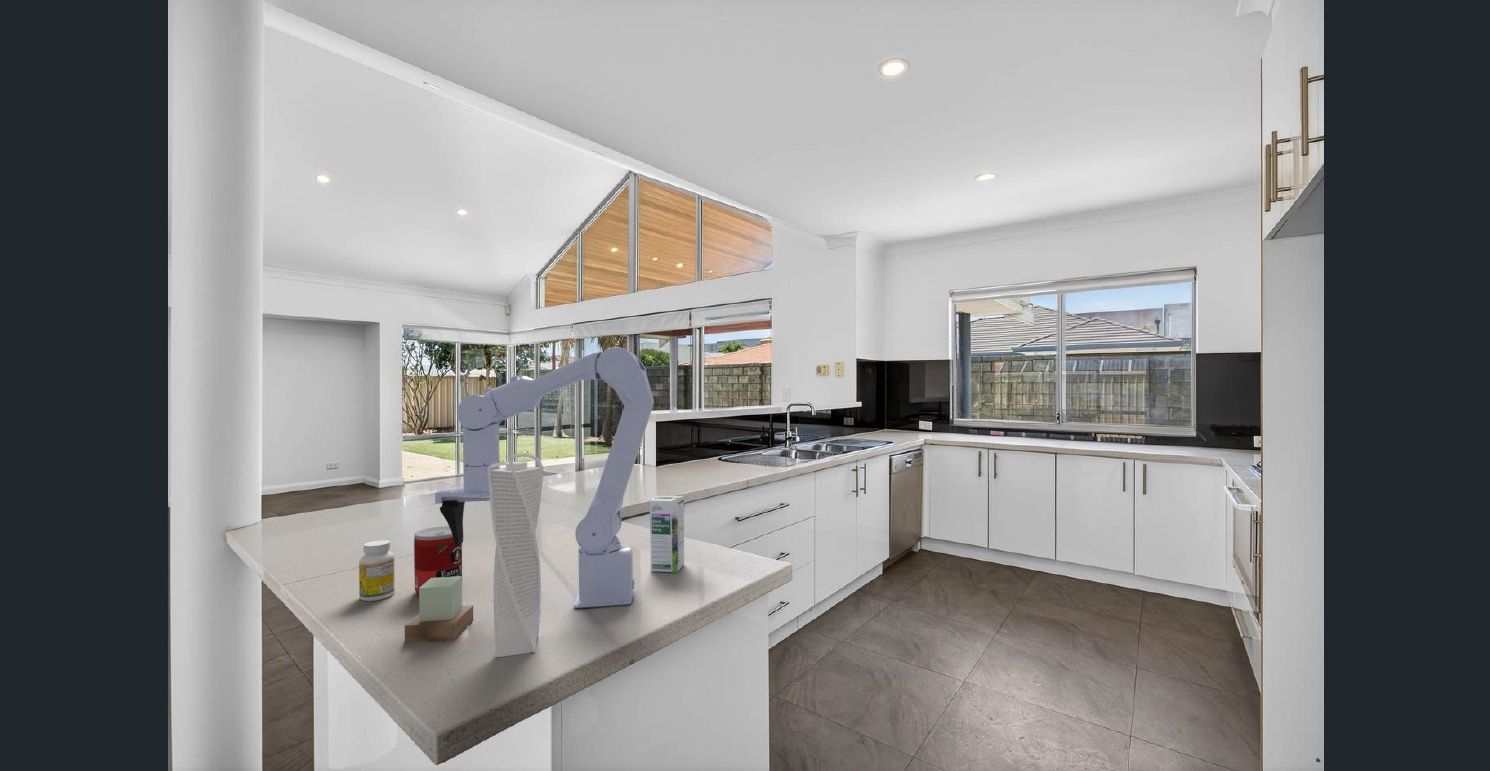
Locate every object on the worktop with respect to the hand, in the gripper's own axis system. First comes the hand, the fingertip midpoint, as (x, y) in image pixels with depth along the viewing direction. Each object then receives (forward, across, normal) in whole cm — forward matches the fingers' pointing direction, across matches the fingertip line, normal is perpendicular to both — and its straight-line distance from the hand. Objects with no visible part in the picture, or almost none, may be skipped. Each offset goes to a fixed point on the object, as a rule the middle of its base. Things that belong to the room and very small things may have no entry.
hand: (482, 542), depth 98 cm
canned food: (+11, -10, +8) cm, 17 cm away
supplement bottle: (+11, -20, +7) cm, 24 cm away
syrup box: (+11, +32, +13) cm, 36 cm away
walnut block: (+11, -3, -11) cm, 16 cm away
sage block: (+8, -3, -11) cm, 14 cm away
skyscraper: (+11, +10, -19) cm, 24 cm away
